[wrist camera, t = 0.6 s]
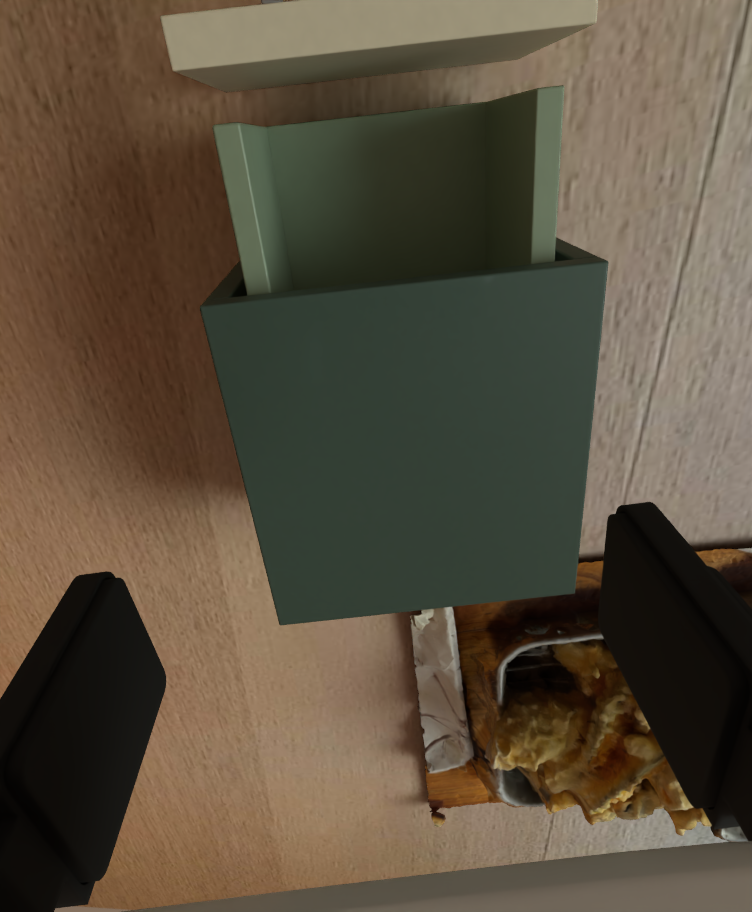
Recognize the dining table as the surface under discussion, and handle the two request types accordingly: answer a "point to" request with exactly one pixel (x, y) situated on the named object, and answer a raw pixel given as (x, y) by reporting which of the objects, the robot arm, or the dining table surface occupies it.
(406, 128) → the drawer
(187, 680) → the dining table surface
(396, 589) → the cabinet
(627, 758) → the food tray
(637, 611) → the robot arm
